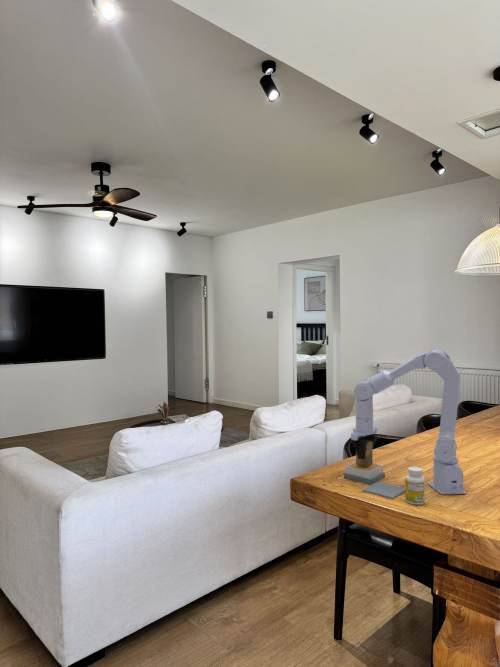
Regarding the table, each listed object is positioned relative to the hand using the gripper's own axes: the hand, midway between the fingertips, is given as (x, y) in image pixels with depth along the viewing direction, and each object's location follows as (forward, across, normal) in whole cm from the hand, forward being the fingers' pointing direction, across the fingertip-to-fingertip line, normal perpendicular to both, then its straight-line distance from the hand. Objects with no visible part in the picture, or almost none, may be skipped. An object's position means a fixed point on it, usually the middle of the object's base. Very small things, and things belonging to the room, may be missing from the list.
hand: (364, 457), depth 158 cm
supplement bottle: (+7, +9, +22) cm, 25 cm away
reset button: (+5, 0, 0) cm, 5 cm away
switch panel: (+7, 0, 0) cm, 7 cm away
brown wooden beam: (+2, 0, 0) cm, 3 cm away
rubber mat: (+7, +7, +11) cm, 15 cm away
